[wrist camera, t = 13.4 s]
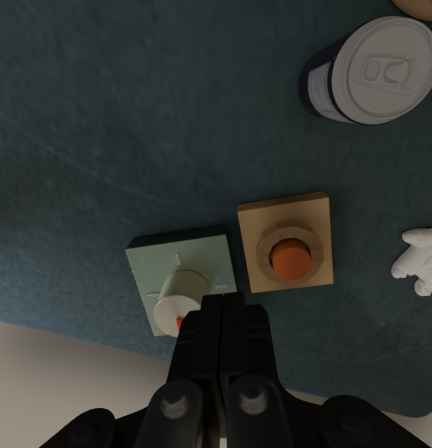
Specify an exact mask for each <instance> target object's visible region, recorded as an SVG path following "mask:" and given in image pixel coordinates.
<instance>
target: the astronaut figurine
mask: <svg viewBox="0 0 432 448" xmlns="http://www.w3.org/2000/svg"><path fill="white" fill-rule="evenodd" d="M402 239H403V240H404V241H405V242H408V243H409V244H411V246H410V247H409V248H408V249H407V250H406V251H405V252H404V253H403V254H402V255H400V257H399V258H398V259H397V260H396V262H395V263H394V264H393V266H392V269H391V273H392V275H393V276H394V277H395V278H400V277H401V278H405V277H406V276H407V274H408V275H410V276H412V275H414V274H416V275H417V276H418V277H419V279H418V280H417V281H416V283H415V285H414V289H415V291H416V293H417V294H418V295H420V296H429V295H431V292H432V228H430V229H412V230H409V231H406V232H404V233H403V234H402Z"/></svg>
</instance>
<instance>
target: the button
mask: <svg viewBox="0 0 432 448" xmlns="http://www.w3.org/2000/svg"><path fill="white" fill-rule="evenodd" d="M272 262H273V267H274V270H275V272H276V274H277V275H278V276H280V277H281V278H283V279H286V280H297V279H300V278H302V277H304V276H305V275H306V274H307V273H308V272H309V271H310V269H311V265H312V260H311V257H310V255H309V253H308V251H307V249H306V247H305V246H304V244H302V243H301V242H299V241H296V240H285V241H282V242H280V243H279V244H277V245H276V246H275V248H274V249H273V251H272Z"/></svg>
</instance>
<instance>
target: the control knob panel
mask: <svg viewBox="0 0 432 448" xmlns="http://www.w3.org/2000/svg"><path fill="white" fill-rule="evenodd" d="M125 251H126V254H127V257H128V260H129V263H130V266H131V269H132V272H133V275H134V278H135V281H136V284H137V287H138V290H139V293H140V296H141V299H142V301H143V304H144V307H145V310H146V313H147V316H148V319H149V322H150V325H151V328H152V331H153V334H154V336H162V335H168V334H166V333H164V332H163V331H162V330H161V329H160V328H159V327H158V326H157V325H156V323H155V320H154V317H153V311H154V307H155V305H156V303H157V300H158V298H159V295H160V293H161V290H162V288H163V285H164V283H165V281H166V279H167V278H168V277H169V276H170V275H171V274H173V273H175V272H178V271H192V272H195V273H197V274H199V275H201V276H202V277H203V278H204V279H205V280H206V282H207V283H208V285H209V288H210V294H220V293H223V295H224V293H230V292H240V289H239V284H238V279H237V274H236V268H235V263H234V258H233V253H232V248H231V242H230V237H229V232H228V227H227V224H222V225H215V226H208V227H202V228H195V229H188V230H182V231H175V232H168V233H162V234H155V235H149V236H142V237H135V238H133V240H132V241H131V242H130V243H129V245H128V246H127V247H126V249H125Z"/></svg>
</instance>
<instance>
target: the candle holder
mask: <svg viewBox="0 0 432 448" xmlns="http://www.w3.org/2000/svg"><path fill="white" fill-rule="evenodd" d="M392 1H393V3H394V4H395V5H396V6H397V7H398V8H399V9H401V10H402V11H404V12H405V13H406V14H408V15H410V16H412V17H415V18H417V19H421V20H426V21H432V0H392Z"/></svg>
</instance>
